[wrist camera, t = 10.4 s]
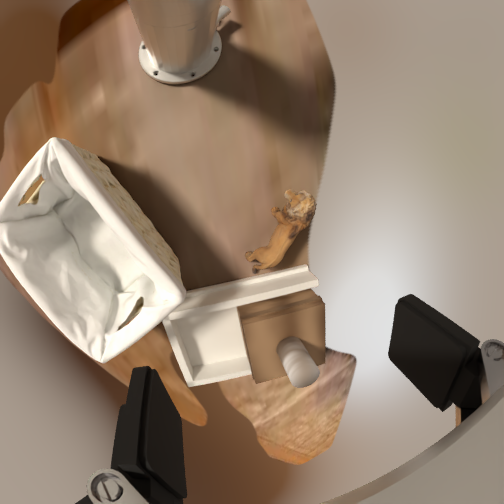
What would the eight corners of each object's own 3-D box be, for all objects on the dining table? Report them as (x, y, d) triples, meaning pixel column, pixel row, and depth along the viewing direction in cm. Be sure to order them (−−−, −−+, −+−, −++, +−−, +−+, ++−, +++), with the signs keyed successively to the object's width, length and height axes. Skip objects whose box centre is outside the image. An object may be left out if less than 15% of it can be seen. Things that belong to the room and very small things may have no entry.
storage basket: (34, 210, 33) (-19, 230, 19) (98, 139, 33) (53, 128, 19) (122, 315, 42) (101, 371, 28) (192, 258, 42) (192, 302, 28)
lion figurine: (274, 180, 41) (295, 184, 32) (304, 194, 42) (330, 201, 34) (238, 267, 44) (250, 291, 35) (268, 276, 45) (285, 301, 37)
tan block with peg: (245, 355, 47) (265, 416, 33) (233, 298, 43) (253, 356, 29) (308, 338, 49) (344, 390, 35) (305, 281, 45) (349, 327, 31)
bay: (189, 371, 48) (189, 389, 43) (161, 296, 42) (158, 311, 37) (310, 342, 51) (320, 356, 47) (305, 264, 46) (318, 275, 41)
